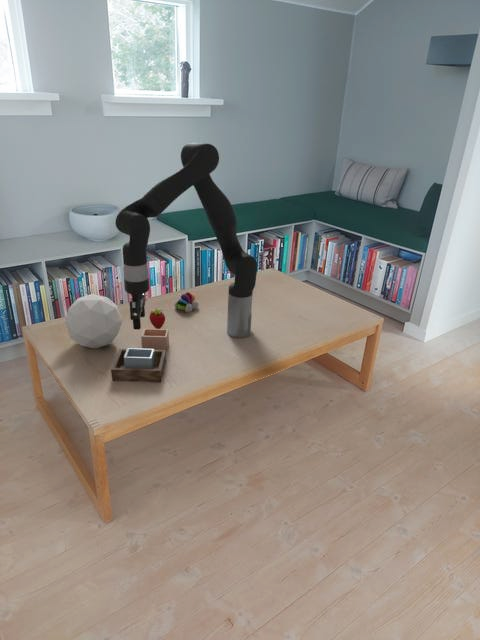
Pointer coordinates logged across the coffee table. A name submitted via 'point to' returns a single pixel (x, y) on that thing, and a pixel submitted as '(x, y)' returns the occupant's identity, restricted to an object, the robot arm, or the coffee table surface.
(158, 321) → the strawberry
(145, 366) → the blue-grey hollow box
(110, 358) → the coffee table surface
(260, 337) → the coffee table surface
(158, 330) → the terracotta crate
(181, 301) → the colourful round cluster
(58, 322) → the coffee table surface
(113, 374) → the walnut crate
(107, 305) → the geometric orb
